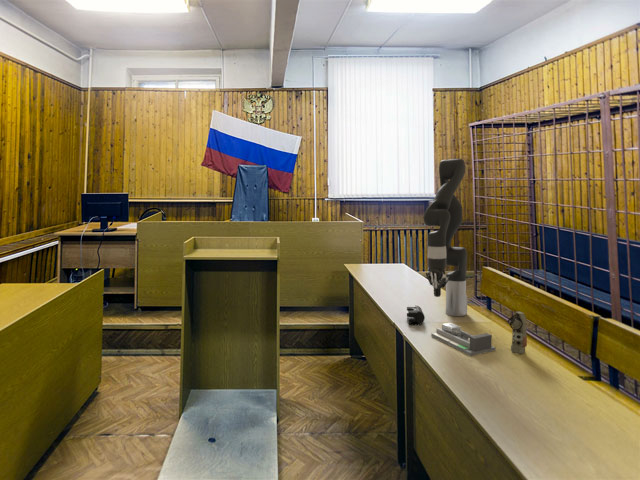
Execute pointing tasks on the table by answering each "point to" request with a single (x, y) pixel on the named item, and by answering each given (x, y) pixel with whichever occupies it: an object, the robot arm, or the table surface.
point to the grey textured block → (452, 329)
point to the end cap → (415, 315)
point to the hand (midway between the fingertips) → (437, 296)
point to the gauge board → (466, 342)
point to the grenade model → (518, 332)
